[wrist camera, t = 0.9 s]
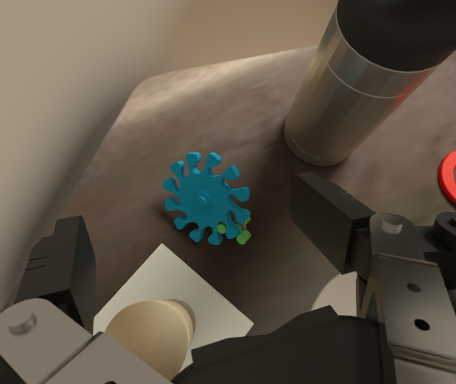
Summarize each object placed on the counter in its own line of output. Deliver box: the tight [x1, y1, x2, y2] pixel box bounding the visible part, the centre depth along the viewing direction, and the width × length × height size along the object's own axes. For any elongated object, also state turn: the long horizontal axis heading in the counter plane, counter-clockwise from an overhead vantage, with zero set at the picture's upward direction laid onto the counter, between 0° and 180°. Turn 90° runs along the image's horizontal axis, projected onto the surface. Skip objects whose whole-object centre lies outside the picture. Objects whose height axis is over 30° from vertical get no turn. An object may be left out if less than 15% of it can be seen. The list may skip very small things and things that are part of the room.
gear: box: [163, 152, 251, 245], centre depth 34 cm, size 11×6×10 cm
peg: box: [104, 299, 196, 381], centre depth 23 cm, size 4×4×14 cm
